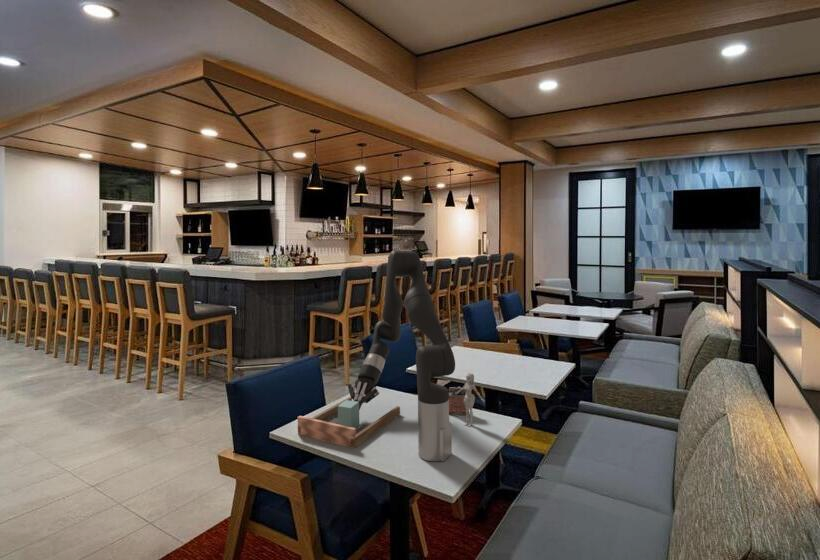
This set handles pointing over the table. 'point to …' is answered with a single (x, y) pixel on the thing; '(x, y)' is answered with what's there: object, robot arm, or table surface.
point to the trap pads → (334, 420)
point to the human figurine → (469, 396)
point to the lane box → (340, 427)
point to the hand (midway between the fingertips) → (354, 411)
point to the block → (348, 413)
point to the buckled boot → (457, 402)
